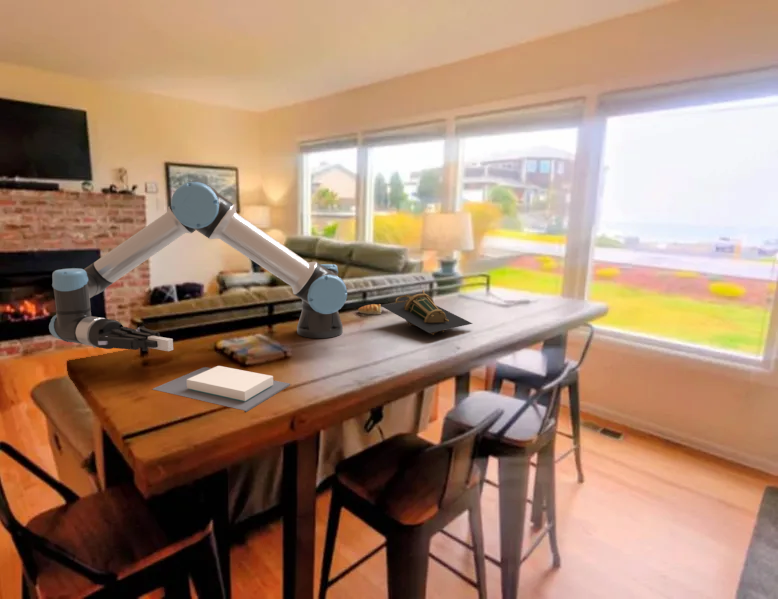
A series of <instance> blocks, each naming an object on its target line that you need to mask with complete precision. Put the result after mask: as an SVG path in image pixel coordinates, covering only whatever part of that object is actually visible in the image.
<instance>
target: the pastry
mask: <svg viewBox="0 0 778 599" xmlns="http://www.w3.org/2000/svg"><path fill="white" fill-rule="evenodd" d="M380 305H382V304H380V303H378V304H375V303H372V304H366V305H363V306H361V307H359V308H358V310H357V312H359V313H360V314H362V315H363V314H364V315H372V316H373V315H375V316H377V315H379V316H380V315H381V314H382V312H383V311H382V310H383V309H382V306H380Z"/></svg>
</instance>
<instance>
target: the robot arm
mask: <svg viewBox="0 0 778 599" xmlns="http://www.w3.org/2000/svg"><path fill="white" fill-rule="evenodd" d="M170 201H171V202H170V205H168V207H167V211H166V212H165V213H163V214H162V215H161V216H159V217H158V218H156V219H155V220H154V221H152V222H150V223H149V224H148V225H147V226H144V228H142V229H140V230H139V231H138V232H136V233H135V234H133V235H132V236H131V237H129V238H127V239H126V240H125V241H123V242H121V243H120V244H119V245H118V246H115V247H114V248H112V249H111V250H110V251H108V252H106V254H104V255H102V256H101V257H100V258H98V259H97V260H96V261H94V262H93V263H91V264H90V265H88V266H87V267H85V268H84V269H83V268H78V267H77V268H75V267H72V268H62V269H56V270H54V271H53V272H52V277H51V278H52V284H51V286H52V289H53V294H54V295H53V296H54V303H55V311H56V312H55V315H53V316H52V318H51V319H50V322H49V325H48V329H49V333H50V334H51V335H52V336H53V337H54V338H56V339H58V340H61V341H63V342H67V343H75V344H80V345H85V346H91V347H93V348H95V349H97V348H98V349H105V350H112V349H121V350H134V351H136V350H139V349H140V348H141V349H142V351H143V352H146V351H148V348H149V349H153V350H160V351H163V352H164V351H165V352H170V351H173V350H174V339H173V338H170V337H163V336H161V335H160V332H158V331H155V330H153V329H150V328H146V327H145V326H144V325H140V326H139V327H137V329H135V328H133V327H127V326H124V325H123V324H122V323H121V322H120V321H119V320H115V319H111V318H105V317H98V316H93V315H92V312H91V311H92V308H91V299H92V298H93V297H94V296H97V295H100V293H102V292H104V291H105V290H106V289H108V287H110V286H111V285H113V284H114V283H116V282H117V281H118V280H120V279H121V278H122V277H123V278H124V276H125V275H127V274H129V273H130V272H131V271H133V270H134V269H136V268H137V267H138V266H140V265H142V264H143V263H144V262H146V261H147V260H148V259H150V258H152V257H153V256H154V255H156V254H158V253H159V252H160V251H162V250H163V249H165V248H166V247H168V246H169V245H171V244H172V243H173V242H175V241H176V240H178V239H179V238H181V237H182V236H183V235H185V234H193V233H194V232H198V233H200V234H201V235H202V236H204V237H206V238H207V239H209V240H214V239H219V240H220V241H221V242H223V243H224V244H226V245H228V246H230V247H231V248H232V249H234V250H235V251H237V252H239V253H240V254H241V255H243V256H245V257H246V258H248V259H249V260H251V261H252V262H254V263H255V264H257V265H259V267H261V268H263V269H264V270H266V271H267V272H269V273H270V274H272V275H274V276H275V277H277V278H278V279H280V280H281V281H283V282H284V283H286V284H287V285H288V286H290V287H291V288H292V294H293V295H294V296H296V297H298V298H299V299H301V313H300V316H299V320H298V323H297V325H296V334H297V335H299V336H300V337H303V338H304V337H305V338H311V339H330V338H333V337H335V338H336V337H337V336H340V335H342V334H343V332H344V330H343V329H344V328H343V326H344V325H343V322H342V319H341V316H340V312H339V310H341V309H342V308H343V307H344V305H345V303H346V300H347V298H348V289H347V286H346V283H345V281H344V280H343V279H342V278H341V277H339V269H338V268H339V267H338V265H336V264H334V263H333V264H332V263H331V264H321V263H319V262H317V261H310V262H309V261H307V260H306V259H304V258H302V257H301V256H300V255H298V254H297V253H295V252H294V251H293V250H291V249H290V248H288V247H287V246H285V245H283V243H281V242H279V241H278V240H277V239H275V238H273V236H271V235H269V234H268V233H267V232H265V231H263V230H262V229H260V228H259V227H258V226H256V225H255V224H254V223H252V222H250V221H249V220H247V219H246V218H245V217H243V216H242V215H240V214H239V213H237V209H236V205H235V204H234V203H233V202H231V201H230V200H228V199H227V198H225V197H224V196H223V195H221V194H220V193H218V191H217V190H216V189H214V188H213V187H212V186H210V185H207V184H206V183H203V182H200V181H189V182H185V183H183V184H181V185H180V186H178V187H177V188H176V189H175V191H174V192H173V194H172V196H171V200H170Z"/></svg>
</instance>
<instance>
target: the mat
mask: <svg viewBox="0 0 778 599" xmlns="http://www.w3.org/2000/svg"><path fill="white" fill-rule="evenodd" d="M212 368H213V367H212ZM212 368H211V367H208V366H207V367H206V366H203V367H201V368H199V369H196V370H194V371H191V372H190V373H187V374H184V375H182V376H179V377H177V378H174V379H172V380H170V381H168V382H165V383H163V384H160V385H158V386H156V387H153V388H152V390H153V391H158V392H163V393H167V394H169V395H170V394H171V395H174V396H175V395H176V396H180V397H185V398H189V399H193V400H196V401H197V400H198V401H202V402H206V403H211V404H214V405H219V406H224V407H228V408H233V409H236V410H241V411H243V413H247V412H249V411H251V410H253V408H256V407H257V406H259V405H261V404H263V403H264V402H266V401H267V400H269V399H271V398H272V397H274V396H275V395H277V394H278V393H280V392H281V391H283V390H285V389H287V388H288V387H289V386H291V383H288V382H283V381H280V380H279V381H278V380H274V379H273V385H272V386H271V387H270V388H268V389H266V390H265V391H263V392H261V393H259V394H258V395H256V396H254V397H252V398H251V399H249V400H247V401H246V402H243V401H238V400H234V399H229V398H225V397H220V396H216V395H211V394H207V393H202V392H198V391H193V390H189V389H188V388H187V379H189V378H191V377H193V376H196V375H198V374H200V373H203V372H205V371H207V370H210V369H212Z"/></svg>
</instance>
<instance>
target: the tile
mask: <svg viewBox="0 0 778 599" xmlns="http://www.w3.org/2000/svg"><path fill="white" fill-rule="evenodd" d="M273 380H274V375H270V374H264V373H259V372H253V371H248V370H242V369H238V368H233V367H227V366H223V365H217V366H213V367H212V369H210V370H207V371H205V372H203V373H200V374H198V375H196V376H193V377H191V378H189V379H187V388H188V389H189V390H193V391H198V392H202V393H207V394H211V395H216V396H220V397H225V398H229V399H234V400H238V401H243V402H246V401H247V400H249V399H251V398H252V397H254V396H256V395H258V394H259V393H261V392H263V391H265V390H266V389H268V388H270V387H271V386H272V385H273Z"/></svg>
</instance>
